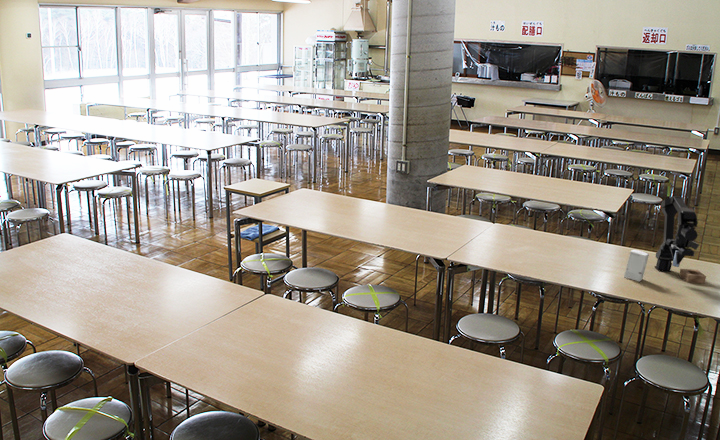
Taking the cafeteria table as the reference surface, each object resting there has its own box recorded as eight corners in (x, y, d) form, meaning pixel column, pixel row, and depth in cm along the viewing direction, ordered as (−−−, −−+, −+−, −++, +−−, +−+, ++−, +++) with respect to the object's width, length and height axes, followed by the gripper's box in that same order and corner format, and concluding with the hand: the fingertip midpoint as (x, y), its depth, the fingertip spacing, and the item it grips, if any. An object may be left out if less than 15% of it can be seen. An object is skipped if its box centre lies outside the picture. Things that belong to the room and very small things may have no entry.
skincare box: (623, 277, 311) (629, 251, 306) (627, 274, 315) (632, 248, 311) (640, 282, 306) (646, 255, 301) (643, 279, 310) (649, 252, 306)
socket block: (687, 282, 309) (688, 275, 308) (678, 275, 318) (680, 268, 317) (704, 283, 309) (706, 276, 308) (695, 276, 318) (697, 269, 316)
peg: (674, 266, 306) (677, 252, 303) (671, 264, 309) (674, 250, 307) (680, 267, 306) (683, 252, 303) (677, 264, 309) (680, 250, 306)
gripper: (708, 241, 293) (701, 270, 298) (689, 229, 311) (683, 257, 316) (685, 240, 293) (678, 269, 298) (668, 228, 311) (662, 256, 316)
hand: (676, 262), depth 307 cm, fingers closed on peg, 3 cm apart
